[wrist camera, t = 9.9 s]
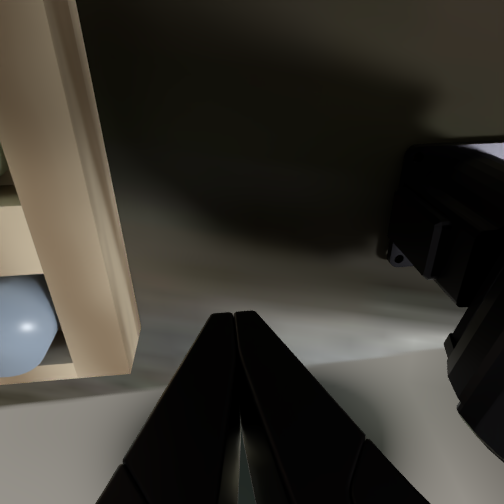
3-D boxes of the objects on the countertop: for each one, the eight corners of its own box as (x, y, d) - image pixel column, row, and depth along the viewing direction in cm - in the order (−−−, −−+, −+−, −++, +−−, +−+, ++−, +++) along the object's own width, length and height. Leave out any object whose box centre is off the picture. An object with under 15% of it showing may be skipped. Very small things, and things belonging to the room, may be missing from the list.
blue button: (55, 254, 18) (29, 292, 15) (78, 328, 20) (58, 372, 18) (-46, 261, 18) (-89, 300, 15) (-12, 335, 20) (-45, 381, 17)
